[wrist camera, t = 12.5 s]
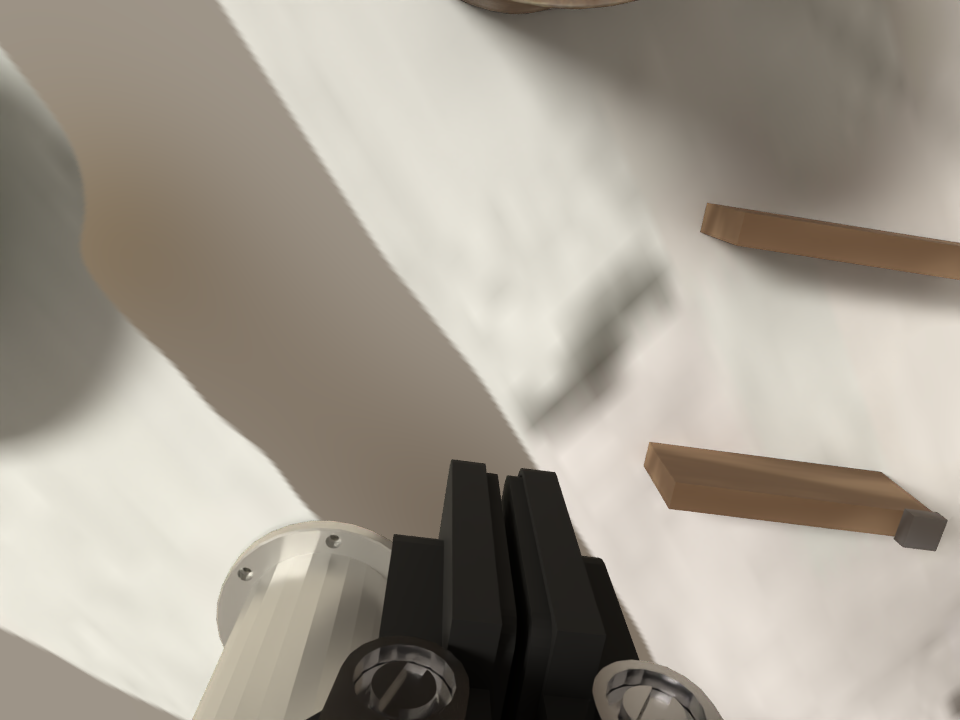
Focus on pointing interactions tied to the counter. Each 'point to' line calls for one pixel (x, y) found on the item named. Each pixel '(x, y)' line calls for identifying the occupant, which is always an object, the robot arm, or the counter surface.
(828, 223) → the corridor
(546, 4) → the plant pot
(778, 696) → the counter surface
